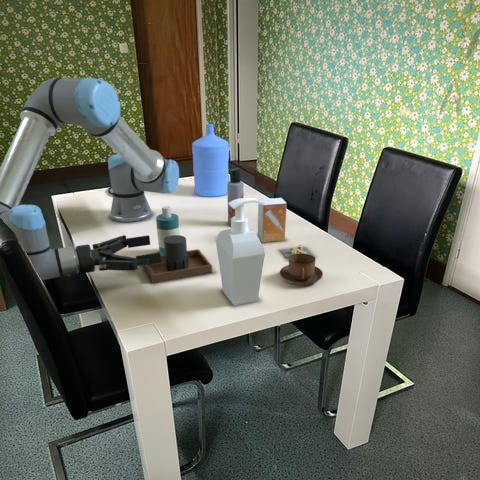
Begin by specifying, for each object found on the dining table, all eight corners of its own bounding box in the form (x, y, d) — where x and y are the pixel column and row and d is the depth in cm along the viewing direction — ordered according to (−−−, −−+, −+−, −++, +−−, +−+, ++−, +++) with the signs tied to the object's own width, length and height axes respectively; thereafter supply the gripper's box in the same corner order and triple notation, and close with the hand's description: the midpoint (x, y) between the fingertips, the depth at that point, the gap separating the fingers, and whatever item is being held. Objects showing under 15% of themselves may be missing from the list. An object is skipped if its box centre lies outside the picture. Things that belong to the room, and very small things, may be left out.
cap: (164, 265, 139) (161, 236, 134) (184, 261, 141) (182, 233, 136) (169, 273, 134) (166, 244, 129) (190, 270, 136) (188, 241, 131)
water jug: (216, 199, 196) (214, 128, 182) (187, 193, 204) (182, 125, 189) (236, 190, 207) (236, 123, 193) (208, 185, 215) (205, 120, 200)
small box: (262, 243, 155) (263, 204, 148) (257, 236, 160) (257, 199, 153) (285, 240, 156) (287, 202, 149) (279, 234, 162) (281, 197, 155)
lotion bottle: (241, 227, 168) (241, 170, 157) (226, 226, 169) (225, 170, 158) (244, 221, 172) (244, 166, 162) (229, 220, 173) (228, 166, 163)
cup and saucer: (329, 284, 129) (331, 264, 125) (289, 291, 126) (290, 270, 122) (311, 267, 138) (313, 248, 135) (273, 272, 136) (274, 253, 132)
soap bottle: (269, 302, 120) (272, 204, 107) (233, 309, 117) (232, 210, 104) (251, 282, 130) (252, 190, 117) (217, 288, 127) (214, 195, 114)
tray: (144, 265, 140) (143, 257, 139) (199, 256, 146) (198, 249, 144) (153, 283, 130) (152, 275, 129) (212, 273, 135) (211, 265, 134)
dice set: (292, 258, 144) (292, 252, 143) (286, 252, 148) (287, 246, 147) (307, 256, 145) (308, 250, 144) (301, 250, 149) (301, 244, 148)
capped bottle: (157, 250, 150) (152, 205, 142) (178, 247, 152) (174, 202, 144) (162, 258, 144) (157, 212, 136) (183, 255, 146) (180, 209, 139)
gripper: (76, 255, 137) (146, 245, 144) (84, 292, 118) (166, 278, 124) (71, 231, 133) (144, 221, 140) (79, 265, 114) (164, 252, 120)
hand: (154, 248), depth 132 cm, fingers open, 13 cm apart
